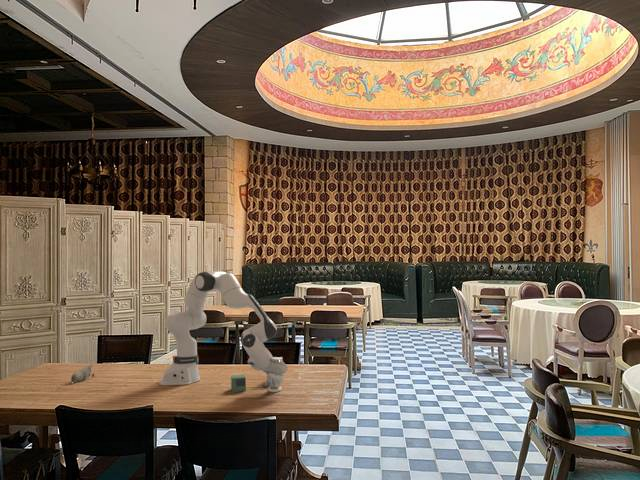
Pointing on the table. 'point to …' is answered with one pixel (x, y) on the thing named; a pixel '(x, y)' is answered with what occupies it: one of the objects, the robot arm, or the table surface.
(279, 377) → the supplement box
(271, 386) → the grey-lidded jar
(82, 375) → the decorative bird
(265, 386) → the disc
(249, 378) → the table surface
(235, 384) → the block
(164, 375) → the robot arm
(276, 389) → the cream dome cap
